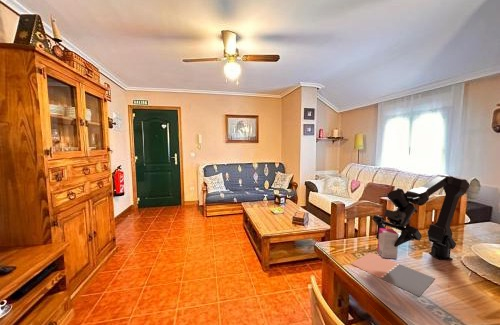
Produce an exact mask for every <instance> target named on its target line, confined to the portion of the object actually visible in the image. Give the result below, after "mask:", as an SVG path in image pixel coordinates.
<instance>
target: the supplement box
mask: <svg viewBox="0 0 500 325" xmlns="http://www.w3.org/2000/svg"><path fill="white" fill-rule="evenodd" d="M399 236H400V234H399V233H398V232H397V231H396V230H394V228H385V229H384V228H379V238H378V239H377V249H376V250H377V255H378V256H381V257H382V259H388V260H391V261H394V260H395V261H397V259H398V249H399V248H398V247H399V246H397V247H395V246H394V244H395V242H396V241H397V239H398V238H399Z"/></svg>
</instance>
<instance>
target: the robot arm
mask: <svg viewBox="0 0 500 325" xmlns="http://www.w3.org/2000/svg"><path fill="white" fill-rule="evenodd" d="M469 187H470V182H469V181H468V180H467V179H465V178H464V179H463V178H457V177H454V176H451V175H449V174H443V173H442V174H441V173H440V174H437V175H436V176H435V177H434V178H433V179H431V180H429V181H427V182H426V183H425V184H424V185H422V186H420V187H416V188H414V187H413V188H412V189H408V190H407V191H406V192H404V189H402V188H400V187H397V189H394V190H391V191H390V192H388V194H387V198H388V199H389V201H390V202H391V203H392V204H393V206H394V207H396V208H397V209H396V210H390V209H387V208H386V209H385V211H384V213H383V216H382V215H379V214H374V215H373V216H372V218H371V220H372V221H373V222H374V223H375V225H377V227H376V228H377V229H376V236H375V238H376V239H377V240H378V238H379V228H384V229H386V227H390V228H391V229H395V230H397V231H400V234H399V238H398V239H397V241H396V242H395V244H394V246H395V247H397V246H398V247H399V246H401V245H403V244H404V243H407V242H409V241H414V240H416V241H418V242H419V241H421V239H422V238H423V235H422V234H421V232H420V230H419V228H417V227H414V226H412V225H407V224H410V222H411V221H410V219H411V217H412V216H413V214H415V213H416V214H418V209H417V206H424V205H425V204H426V203H427V202H429V201H430V200H429V199H430V197H431V195H434V194H435V193H436V192H438V191H439V190H440V189H443V190H444V193H445V194H444V198H443V202H442V205H441V208H440V211H439V214H438V217H437V219H436V220H437V221H436V222H434V223H433V224H430V225H429V227H428V228H429V229H428V230H427V238H428V240H429V242H431V243H432V245H431V249H430V250H431V251H429V253H428V254H430V255H431V256H433V257H434V258H436V259H437V260H439V261H440V260H442V261H443V260H444V261H445V260H446V261H448V260H449V261H453V257H451V251H452V250H454V249H455V248H456V246H457V243H456V241H455V240H454V239H453V230H452V228H451V224H452V222H453V217H454V215H455V212H456V208H457V207H458V206H457V205H458V203H459V200H460V198H461V197H462V196H464V195H465V194H467V191H468V189H469ZM415 205H416V206H415ZM384 217H386V218H387V219H385V218H384Z"/></svg>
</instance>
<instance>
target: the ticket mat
mask: <svg viewBox="0 0 500 325" xmlns="http://www.w3.org/2000/svg"><path fill="white" fill-rule="evenodd" d="M350 264H351V265H352V266H354V267H356V268H358V269H361V270H362V271H364V272H367V273H369V274H370V275H372V276H375V277H377V278H379V279H382V280H383V281H385V282H387V283H390V284H391V285H394V286H396V287H398V288H400V289H402V290H403V291H406V292H408V293H410V294H413V295H414V296H417V297H419V298H420V296H421V295H422V294H423V293H424V292H425V291H426V290H427V289H428V288H429V286H430V285H431V284H432V283H433V282H434V281H435V280H436V278H435V277H433V276H430V275H428V274H425V273H423V272H421V271H417V270H415V269H414V268H413V269H412V268H411V267H408V266H406V265H403V264H400V263H398V262H396V261H394V260H392V259H382V257H381V256H380V255H379V254H376V253H373V252H367V253H366V254H364V255H363V256H361V257H359V258H358V259H356V260H354V261H352V262H351V263H350Z"/></svg>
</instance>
